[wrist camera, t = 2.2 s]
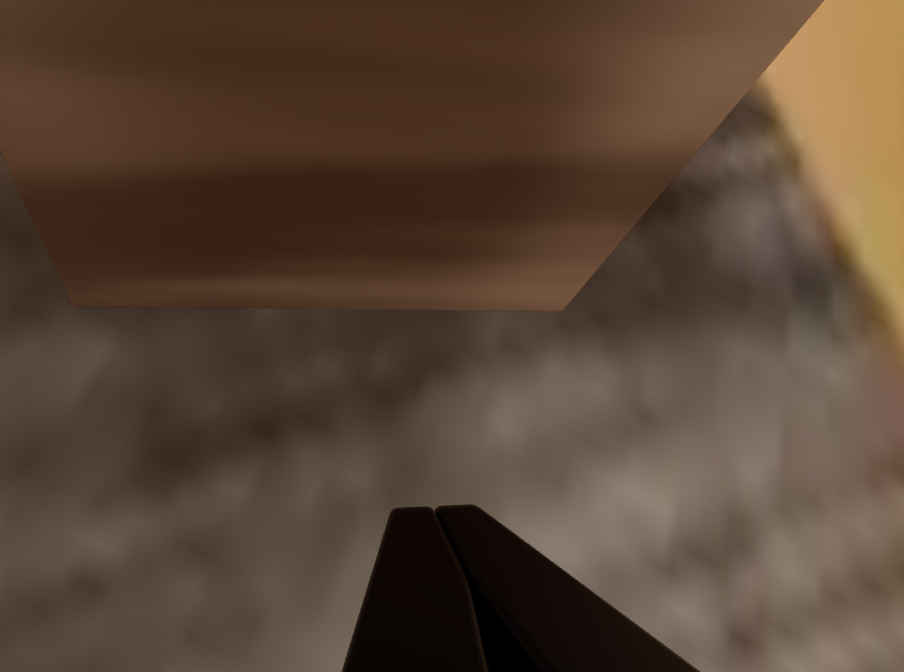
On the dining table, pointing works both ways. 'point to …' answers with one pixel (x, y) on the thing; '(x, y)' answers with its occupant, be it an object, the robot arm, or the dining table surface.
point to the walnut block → (360, 141)
